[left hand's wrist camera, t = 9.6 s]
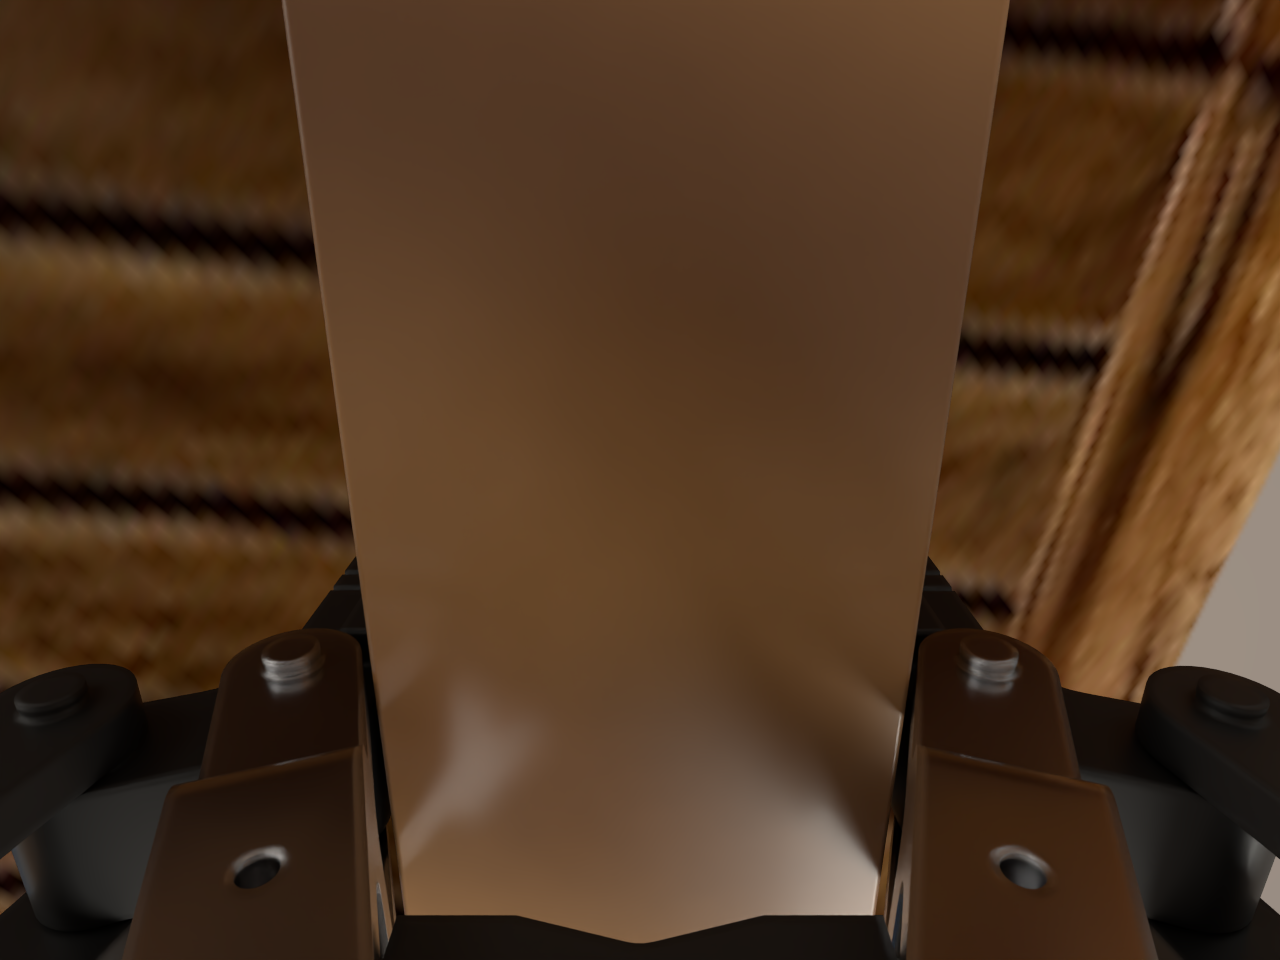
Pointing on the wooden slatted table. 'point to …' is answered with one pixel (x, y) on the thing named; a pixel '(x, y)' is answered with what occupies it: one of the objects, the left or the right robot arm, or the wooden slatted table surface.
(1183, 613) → the wooden slatted table surface
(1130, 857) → the left robot arm
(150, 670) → the wooden slatted table surface
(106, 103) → the wooden slatted table surface
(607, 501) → the post
